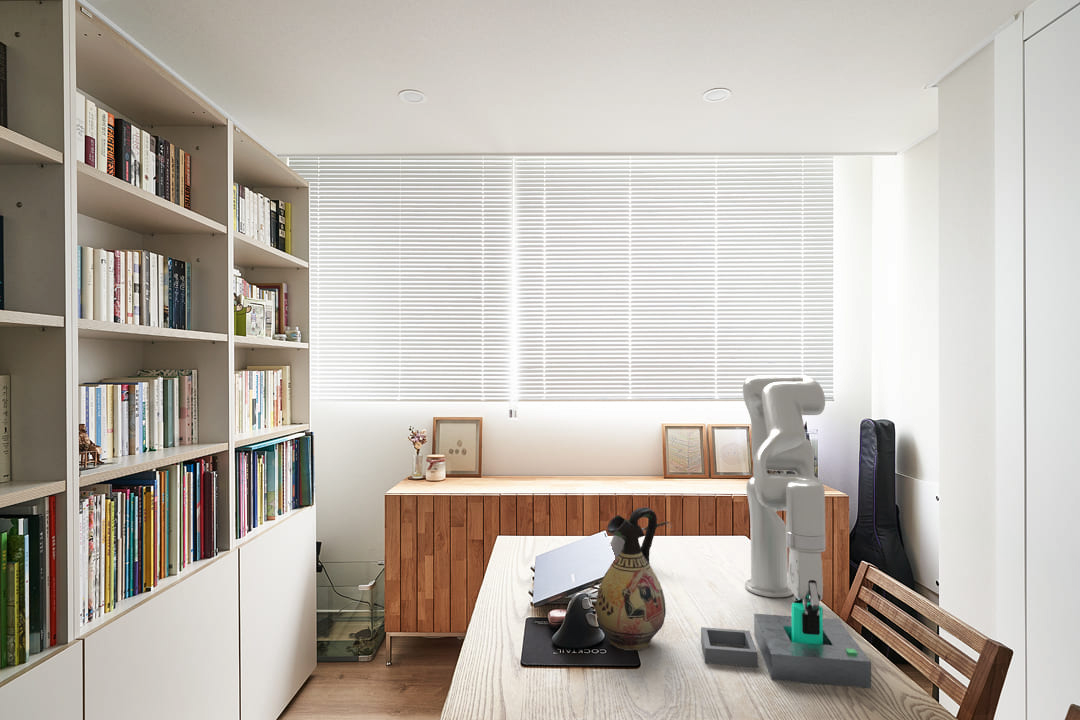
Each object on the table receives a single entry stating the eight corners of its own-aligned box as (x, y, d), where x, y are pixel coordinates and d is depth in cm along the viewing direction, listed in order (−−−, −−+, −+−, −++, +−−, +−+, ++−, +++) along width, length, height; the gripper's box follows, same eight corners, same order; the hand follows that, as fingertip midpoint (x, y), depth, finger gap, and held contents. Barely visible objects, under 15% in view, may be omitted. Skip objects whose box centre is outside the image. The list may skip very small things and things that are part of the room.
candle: (821, 654, 126) (821, 596, 127) (824, 665, 120) (823, 604, 121) (791, 650, 128) (790, 592, 129) (792, 660, 123) (792, 600, 124)
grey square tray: (701, 640, 134) (700, 627, 134) (749, 644, 132) (749, 630, 132) (705, 662, 124) (705, 648, 124) (757, 667, 122) (757, 652, 122)
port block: (754, 635, 136) (754, 611, 136) (838, 641, 133) (838, 616, 133) (771, 679, 117) (771, 651, 117) (871, 688, 113) (870, 659, 113)
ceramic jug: (620, 665, 123) (619, 518, 123) (583, 635, 137) (583, 504, 137) (686, 648, 130) (685, 510, 131) (645, 622, 144) (644, 497, 145)
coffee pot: (600, 563, 189) (600, 515, 190) (618, 554, 198) (617, 509, 199) (662, 576, 176) (662, 525, 177) (678, 566, 186) (677, 517, 186)
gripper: (778, 529, 135) (779, 609, 134) (796, 551, 118) (797, 643, 117) (813, 530, 133) (814, 611, 133) (837, 553, 116) (838, 646, 116)
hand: (806, 625), depth 125 cm, fingers open, 6 cm apart
